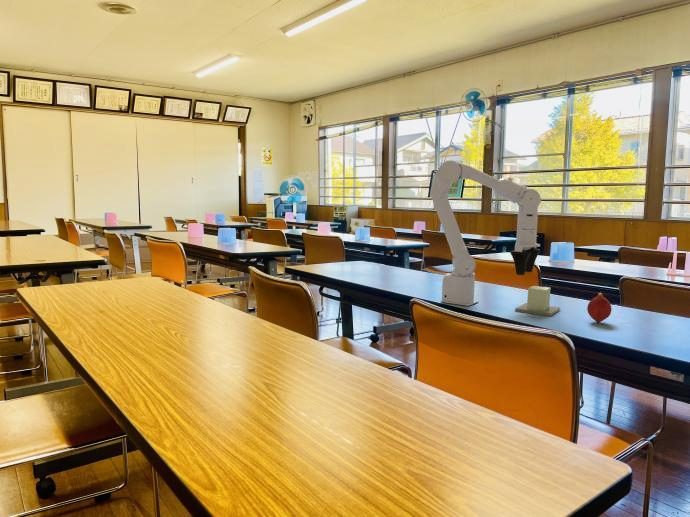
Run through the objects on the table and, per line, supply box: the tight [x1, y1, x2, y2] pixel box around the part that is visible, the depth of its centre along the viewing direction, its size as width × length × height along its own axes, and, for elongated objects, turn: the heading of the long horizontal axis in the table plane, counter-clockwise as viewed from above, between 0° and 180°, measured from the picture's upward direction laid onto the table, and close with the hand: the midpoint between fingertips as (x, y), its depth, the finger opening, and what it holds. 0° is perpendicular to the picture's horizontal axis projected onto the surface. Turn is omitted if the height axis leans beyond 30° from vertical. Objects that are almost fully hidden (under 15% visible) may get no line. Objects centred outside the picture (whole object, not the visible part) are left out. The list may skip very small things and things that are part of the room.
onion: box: [586, 292, 613, 323], centre depth 136 cm, size 6×6×8 cm
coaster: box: [514, 302, 561, 317], centre depth 149 cm, size 10×10×1 cm
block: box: [526, 285, 551, 311], centre depth 149 cm, size 5×5×6 cm
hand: (524, 273), depth 156 cm, fingers open, 7 cm apart
